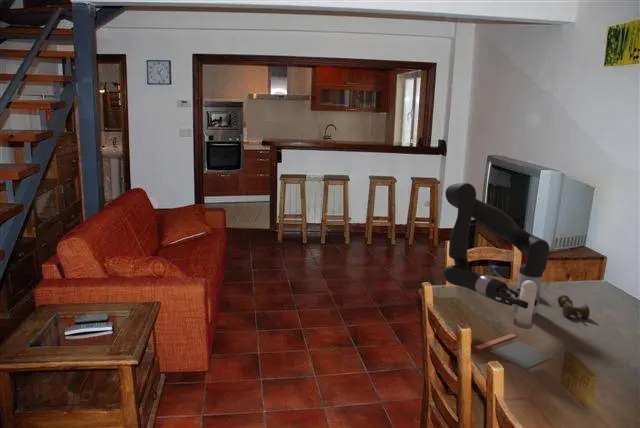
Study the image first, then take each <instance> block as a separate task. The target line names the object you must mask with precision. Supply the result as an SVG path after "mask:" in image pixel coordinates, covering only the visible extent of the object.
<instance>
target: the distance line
mask: <svg viewBox="0 0 640 428" xmlns="http://www.w3.org/2000/svg"><path fill="white" fill-rule="evenodd" d="M515 337H517V335H516V334H514V333H510V334H506V335H503V336H500V337H498V338H495V339H493V340H489V341H487V342H484V343H480V344H479V345H475V348H476V349H478V350H483V349H485V348H488V347H492V346H495V345H496V344H499V343H500V344H501V343H503V342H505V341H508V340H510V339H513V338H515Z"/></svg>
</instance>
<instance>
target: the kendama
mask: <svg viewBox="0 0 640 428" xmlns="http://www.w3.org/2000/svg"><path fill="white" fill-rule="evenodd" d="M557 303H558V305H560V306H562V315H563V317H564V318H569V317H570V316H578V317H580V318H583V319H585V320H587V319H589V317H590V313H591V312H590V308H589V306H588V304H584V305H582V306H579V307H577V306H574V304H573V301H572V299H570V297H569V296H568V295H564V294H563V295H560V296H558V299H557Z"/></svg>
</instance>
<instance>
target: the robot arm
mask: <svg viewBox="0 0 640 428" xmlns="http://www.w3.org/2000/svg"><path fill="white" fill-rule="evenodd" d="M444 193H445V198H446V201H447V202H448V203H449V205H450V206H453V207H454V208H456V209H457V216H456V220H455V222H454V225H453V228H452V230H451V232H450V235H449V236H450V237H449V243H448V245H449V246H448V257H449V258H451V259H453V263H454V265H453V264H452V265H448V266H447V267H445V268H444V269H443V272H442V273H443V275H442V276H443V277H444V280H445V281H446V282H447V283H448V284H451V285H454V286H458V287H461V288H466V289H469V290H470V291H472V292H475V293H478V294H479V295H481V296H482V297H486V298H488V299H490V300H492V301H495V302H497V303H500V304H503V305H505V306H509V307H512V306H513V307H512V308H513V312H515V313H516V314H517V310H518V306H520V307H522V308H525V309H526V308H528V302H525V301H523V300H520V299H519V298H520V292H521V286H522V283H523V282H524V281H527V280H531V281H533V282H534V283H535V284H536V286H537V291H536V297H535V302H534V308H533V314H532V317H533V316H536V315H537V312H538V308H539V301H540V296H541V286H542V279H543V273H544V272H545V270H546V268H547V264H548V261H549V256H550V245H549V243H548V241H546V240H544V239H542V238H540V237H538V236H536V235H534V234H531V233H529V232H527V231H526V230H524V229H523V228H521V227H520V226H519V225H518V224H517V222H515V220H514V219H513V218H512V217H511V216H509V214H507V213H505V212H504V210H502V209H500V208H498V207H496V206H494V205H491V204H490V203H489V204H488V203H486V202H484V201H481V200H479V199H477V190H476V188H475V186H474V185H473V184H471V183H468V182H461V183H460V182H459V183H458V182H457V183H453V184H451V185H449V186H448V187H447V188H446V189H445V192H444ZM472 218H473V219H474V220H475V221H476V222H478V223H479V224H481V225H482V226H483V227H485V228H486V229H487V230H489V231H490V232H492V233H493V234H495V235H496V236H498V237H500V238H502V239H504V240H506V241H508V242H509V243H511V244H512V245H513V246H514V247H515V248H516V249H517V250H518V251H519V252H520V253H522V254H523V256H526V257H527V259H526V263H524V264H521V265H520V266H519V272H518V278H517V282H516V283H517V284H516V289H513V288H509V287H508V284H507V283H506V282H504V281H501V280H499V279H497V278H494V277H491V276H490V275H489V276H488V275H485V274H481V273H479V272H476V271H471V270H470V265H469V258H468V245H469V243H468V241H469V234H470V233H469V232H470V227H471V222H472Z"/></svg>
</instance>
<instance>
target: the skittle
mask: <svg viewBox="0 0 640 428" xmlns="http://www.w3.org/2000/svg"><path fill="white" fill-rule="evenodd" d="M536 291H537V286H536V284H535V283H534V282H533V281H531V280H527V281H524V282H523V283H522V286H521V292H520V298H519V299H520V300H523V301H525V302H528V308H526V309H525V308H522V307H520V306H518V310H517V313H516V315H515V318H514V319H513V322H512V324H513V325H514V326H516V327H517V328H520V329H524V330H525V329H526V330H530V329H533V325H534V323H533V321H532V318H533V316H532V314H533V308H534V302H535V297H536Z"/></svg>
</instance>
